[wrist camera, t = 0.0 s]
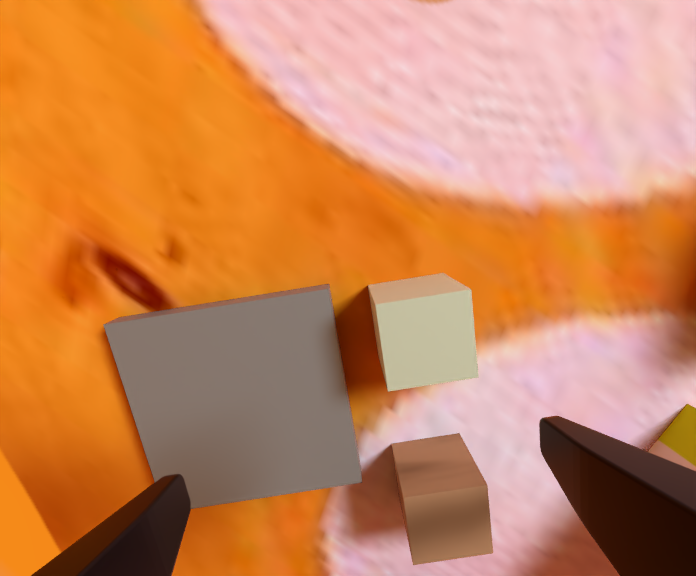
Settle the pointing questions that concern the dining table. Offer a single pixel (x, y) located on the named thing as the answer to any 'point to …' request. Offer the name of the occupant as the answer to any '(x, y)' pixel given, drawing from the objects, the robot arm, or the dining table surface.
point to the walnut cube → (442, 499)
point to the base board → (241, 395)
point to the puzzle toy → (679, 440)
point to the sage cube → (424, 331)
